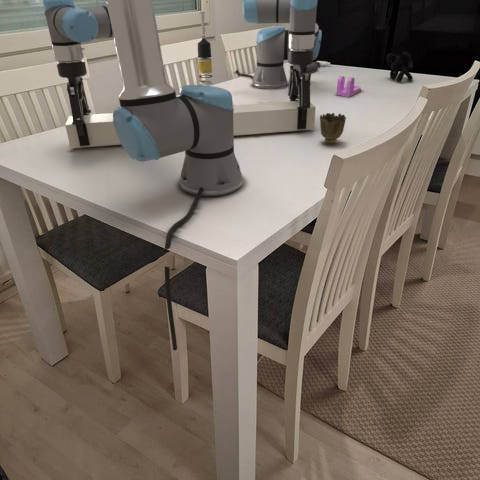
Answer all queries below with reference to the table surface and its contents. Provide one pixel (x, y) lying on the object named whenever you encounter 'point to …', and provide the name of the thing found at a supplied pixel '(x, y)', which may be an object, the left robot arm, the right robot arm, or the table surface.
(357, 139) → the table surface
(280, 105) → the slab
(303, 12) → the right robot arm
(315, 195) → the table surface
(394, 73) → the squiggle
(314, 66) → the frying pan
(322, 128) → the cup
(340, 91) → the bracket
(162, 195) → the table surface
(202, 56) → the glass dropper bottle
